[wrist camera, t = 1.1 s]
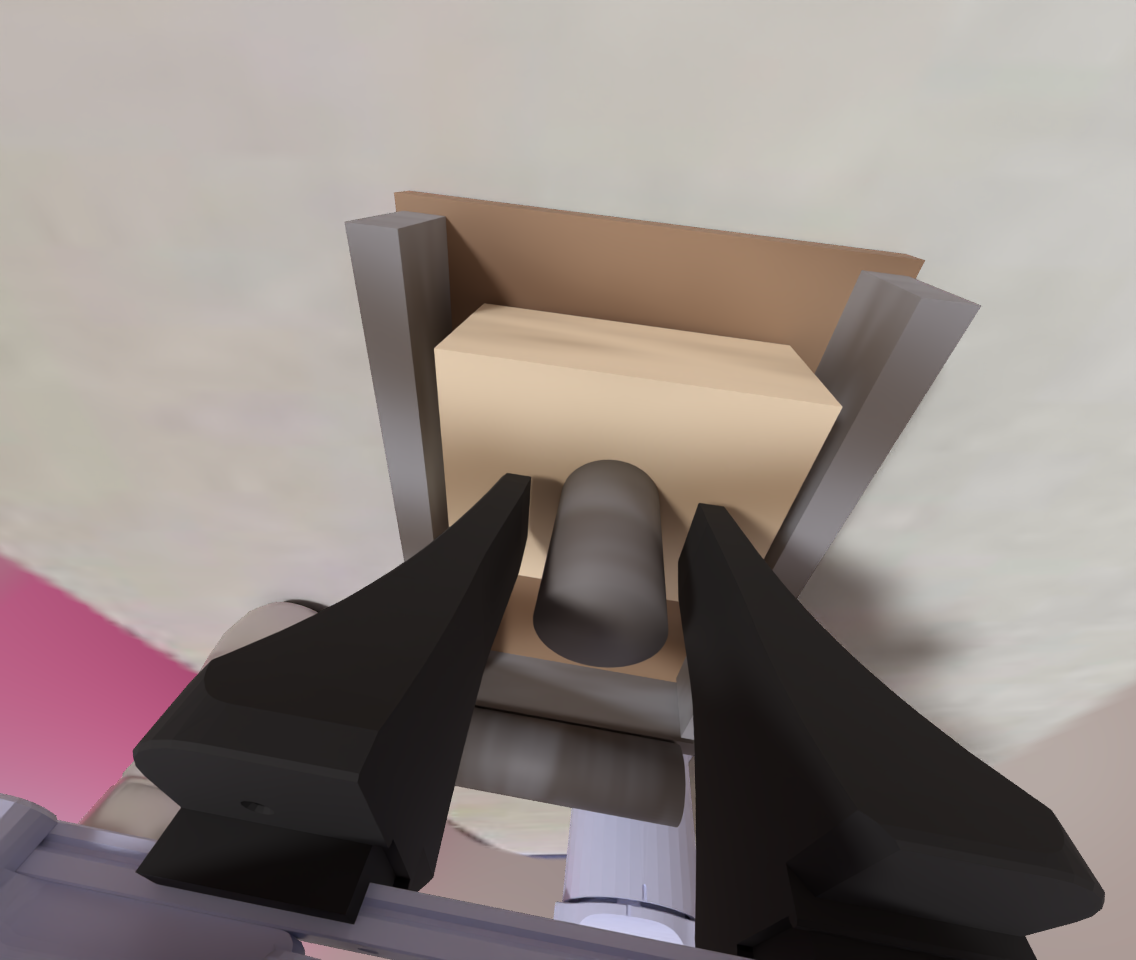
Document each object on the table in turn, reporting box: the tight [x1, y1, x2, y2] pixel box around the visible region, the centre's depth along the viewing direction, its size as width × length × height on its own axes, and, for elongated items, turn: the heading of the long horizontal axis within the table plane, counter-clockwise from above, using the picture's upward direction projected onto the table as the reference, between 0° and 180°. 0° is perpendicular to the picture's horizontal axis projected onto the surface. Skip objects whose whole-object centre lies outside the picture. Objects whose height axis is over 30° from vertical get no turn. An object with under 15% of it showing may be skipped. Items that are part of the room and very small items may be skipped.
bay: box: [345, 191, 981, 827], centre depth 16 cm, size 23×14×7 cm, turn 174°
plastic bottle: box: [78, 602, 318, 840], centre depth 19 cm, size 6×7×20 cm
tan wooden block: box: [434, 303, 842, 668], centre depth 12 cm, size 7×9×8 cm
